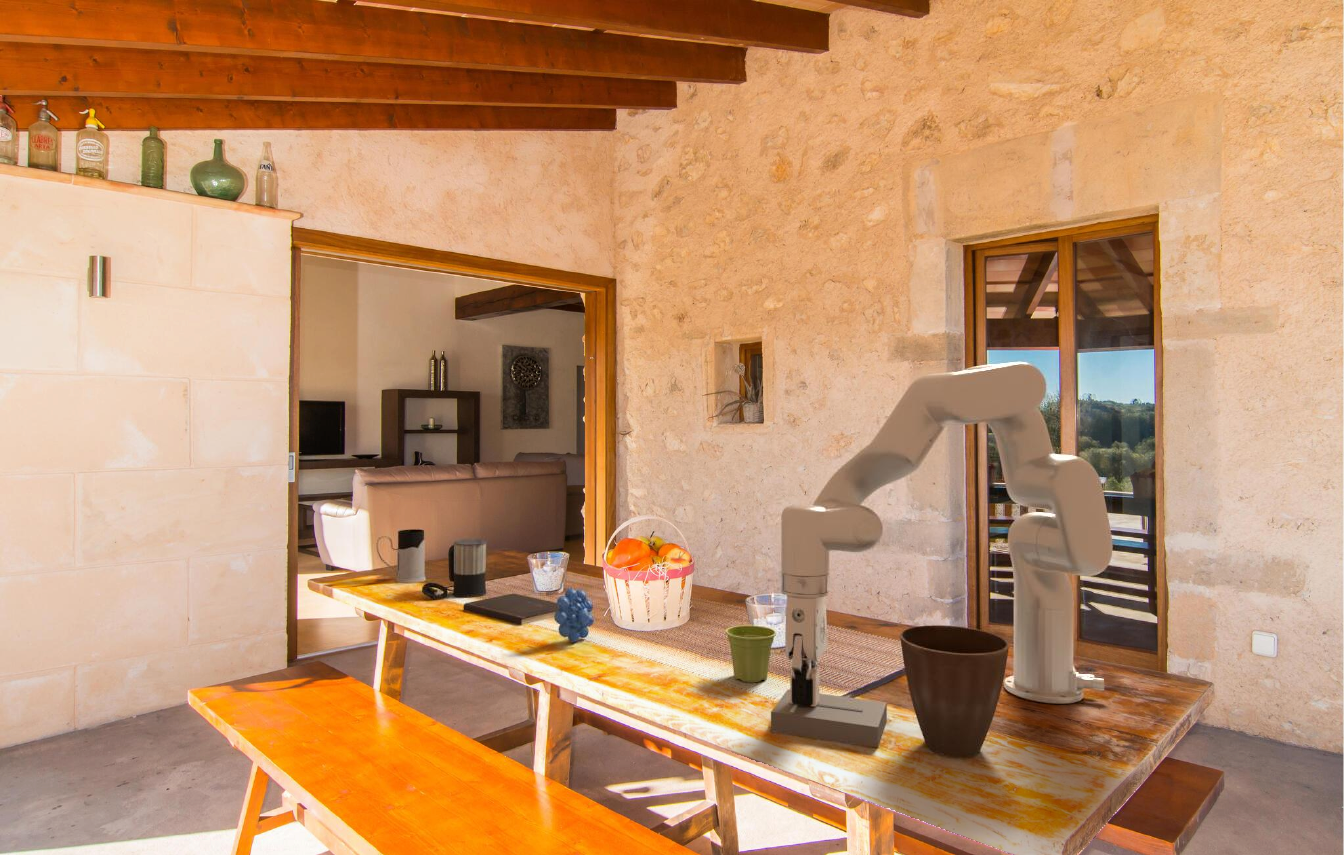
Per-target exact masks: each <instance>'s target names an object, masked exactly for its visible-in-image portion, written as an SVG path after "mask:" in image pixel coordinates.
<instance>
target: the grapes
mask: <svg viewBox="0 0 1344 855" xmlns="http://www.w3.org/2000/svg"><path fill="white" fill-rule="evenodd" d="M587 595H588V594H587V592H586V591H585V590H584V589H581V588H580V589H577V590H576V589H575V588H573V587H568V588H567V589H566V590H565V592H564V595H561V596H559V597H558V598H557V600H556V603H557V606H558V607H559V609H561V610H558V611H556V613H555V615H554V617H553V619H554V621H555V622H556V624H559V626H558V629H557V631H558V633H559V636H562V637H563V638H567V639H568V641H569V642H571V643H576V642H579V640H580V639H586V638H587V637H588V635H589V632H590V631H589V628H588V627H591V626H593V624H594V622H595V618H594V616H593V615H592V613H590V612H592V611H593V609H594V604H593V602H592V600H590V599H589V598H588V596H587Z"/></svg>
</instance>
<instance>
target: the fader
mask: <svg viewBox="0 0 1344 855" xmlns="http://www.w3.org/2000/svg"><path fill="white" fill-rule="evenodd" d="M820 670H821V669H820V668H818V667H817V668H811V679H813V704H812V705H811V706H815V707H816V705H817V704H818V702H819V694H820V677H821V676H820V675H821V674H820V673H821V671H820ZM789 671H790V677H789V681H790V684H789V685H790V686H789V688H790V689H789V690H790V703H792V669H791V670H789Z"/></svg>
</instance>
